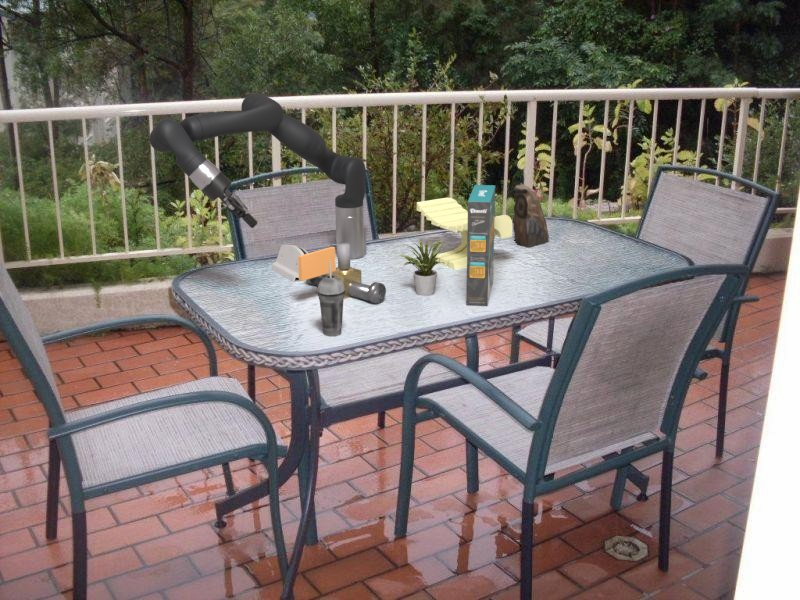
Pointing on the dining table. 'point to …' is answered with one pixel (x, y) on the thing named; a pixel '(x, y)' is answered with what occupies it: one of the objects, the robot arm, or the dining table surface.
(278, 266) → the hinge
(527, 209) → the owl
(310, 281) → the valve
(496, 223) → the slatted curved stool
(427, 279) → the house plant
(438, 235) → the dining table surface
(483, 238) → the cake mix box
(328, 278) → the beverage cup
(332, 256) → the lever
